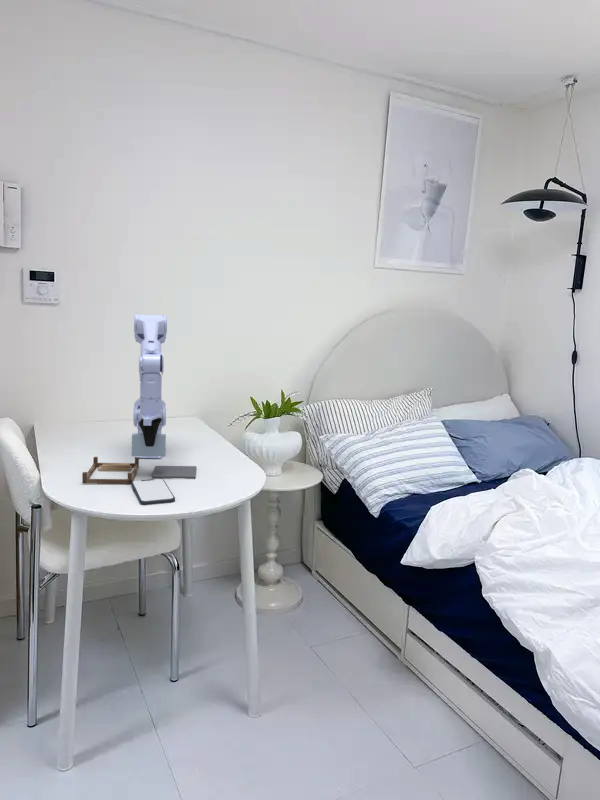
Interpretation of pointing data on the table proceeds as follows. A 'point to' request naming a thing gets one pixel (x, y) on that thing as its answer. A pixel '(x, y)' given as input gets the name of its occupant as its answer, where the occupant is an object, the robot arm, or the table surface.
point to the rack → (109, 481)
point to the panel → (143, 450)
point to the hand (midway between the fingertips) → (150, 445)
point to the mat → (174, 472)
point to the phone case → (152, 492)
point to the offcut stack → (115, 467)
